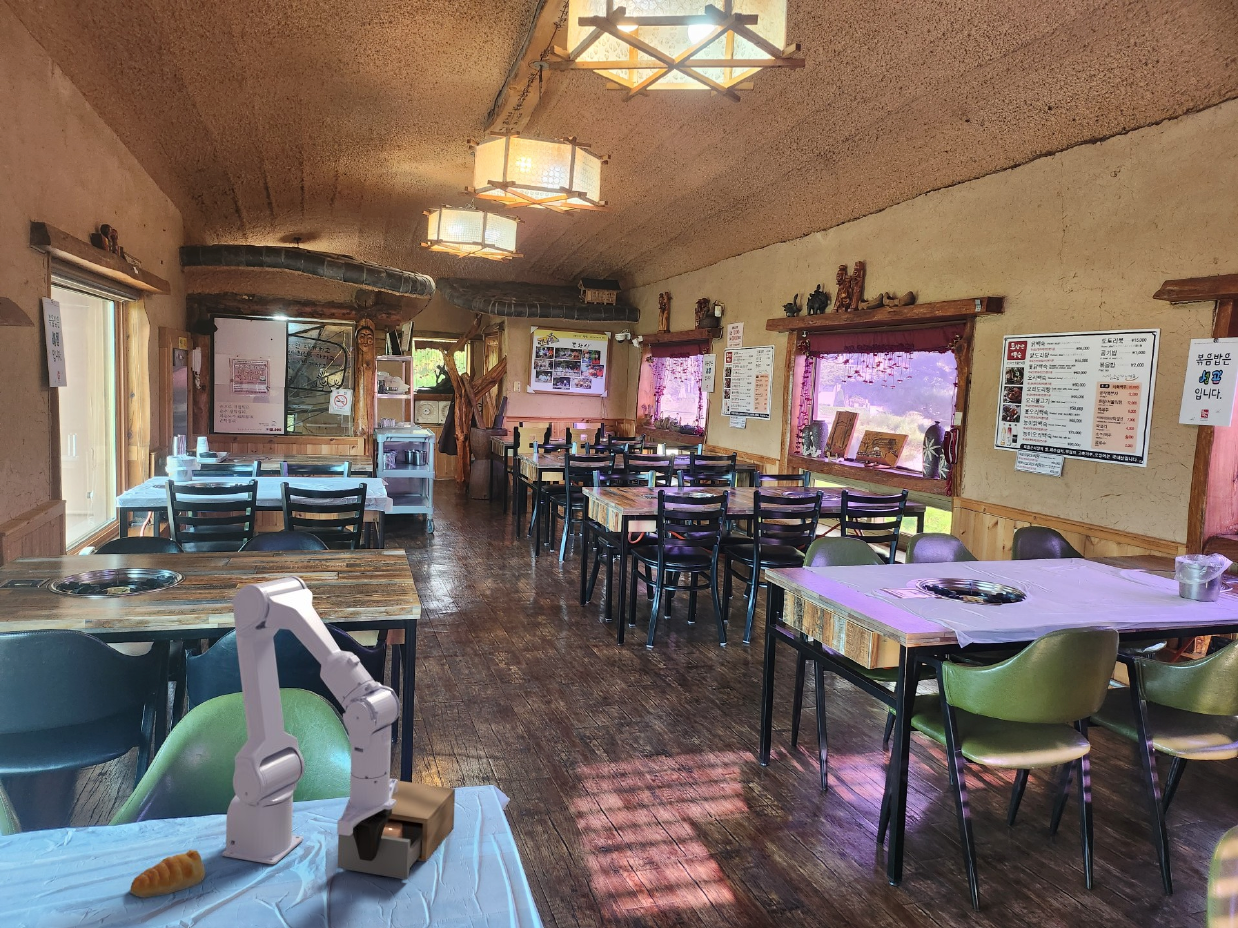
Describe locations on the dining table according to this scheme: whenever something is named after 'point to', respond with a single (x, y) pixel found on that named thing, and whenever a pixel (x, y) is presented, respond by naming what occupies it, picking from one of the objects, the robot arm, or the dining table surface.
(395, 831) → the tan rounded cylinder
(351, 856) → the grey drawer
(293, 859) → the dining table surface
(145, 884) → the pastry
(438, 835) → the housing
